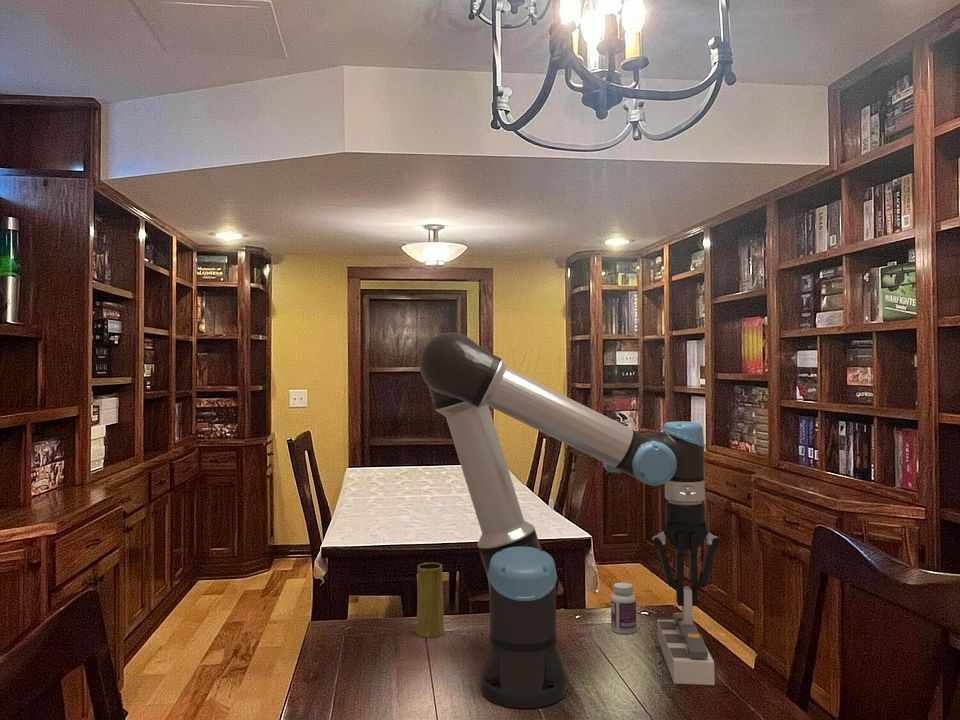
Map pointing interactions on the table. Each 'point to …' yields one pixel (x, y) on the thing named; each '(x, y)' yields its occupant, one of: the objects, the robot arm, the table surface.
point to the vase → (430, 601)
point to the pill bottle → (623, 609)
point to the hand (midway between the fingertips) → (687, 621)
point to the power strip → (683, 657)
